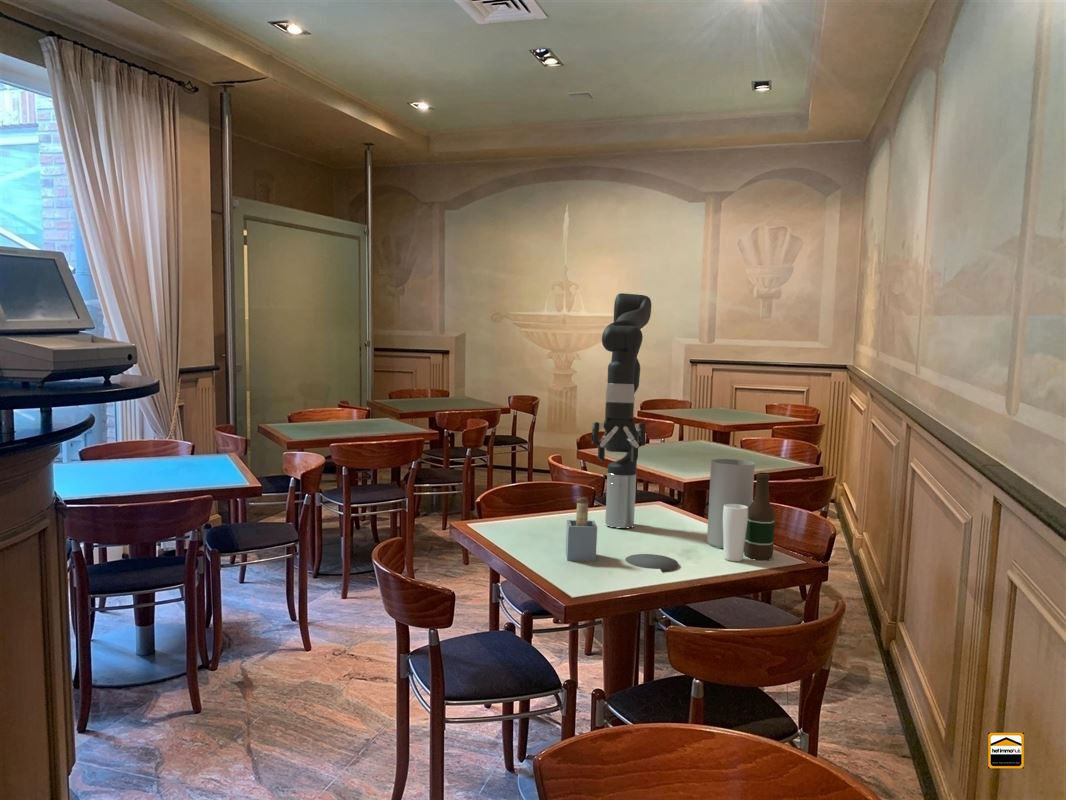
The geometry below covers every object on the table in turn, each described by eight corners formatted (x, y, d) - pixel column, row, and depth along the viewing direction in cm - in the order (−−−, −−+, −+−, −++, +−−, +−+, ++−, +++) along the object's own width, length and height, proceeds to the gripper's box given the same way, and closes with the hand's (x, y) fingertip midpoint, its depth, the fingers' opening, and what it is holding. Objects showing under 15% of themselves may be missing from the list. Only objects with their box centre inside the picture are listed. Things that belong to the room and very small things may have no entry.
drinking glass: (715, 556, 219) (718, 504, 218) (736, 555, 221) (738, 503, 220) (729, 563, 212) (732, 509, 211) (750, 562, 215) (753, 508, 214)
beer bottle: (759, 562, 215) (764, 476, 213) (738, 555, 221) (742, 471, 219) (778, 559, 219) (783, 474, 217) (757, 552, 225) (761, 470, 224)
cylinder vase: (755, 551, 227) (760, 466, 225) (712, 549, 227) (716, 464, 225) (743, 540, 239) (747, 459, 237) (702, 538, 239) (706, 458, 237)
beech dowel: (574, 555, 212) (576, 497, 211) (585, 555, 212) (588, 497, 211) (575, 558, 209) (577, 499, 208) (586, 558, 209) (589, 500, 208)
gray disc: (622, 556, 216) (622, 553, 216) (672, 557, 216) (672, 554, 216) (629, 571, 202) (629, 567, 202) (682, 572, 202) (683, 569, 202)
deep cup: (565, 555, 215) (566, 519, 214) (592, 556, 215) (594, 520, 214) (567, 563, 207) (568, 526, 206) (595, 564, 207) (597, 527, 206)
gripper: (641, 401, 212) (639, 460, 213) (590, 399, 210) (588, 459, 211) (649, 402, 205) (647, 463, 205) (596, 400, 203) (594, 462, 203)
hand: (617, 461), depth 208 cm, fingers open, 8 cm apart
